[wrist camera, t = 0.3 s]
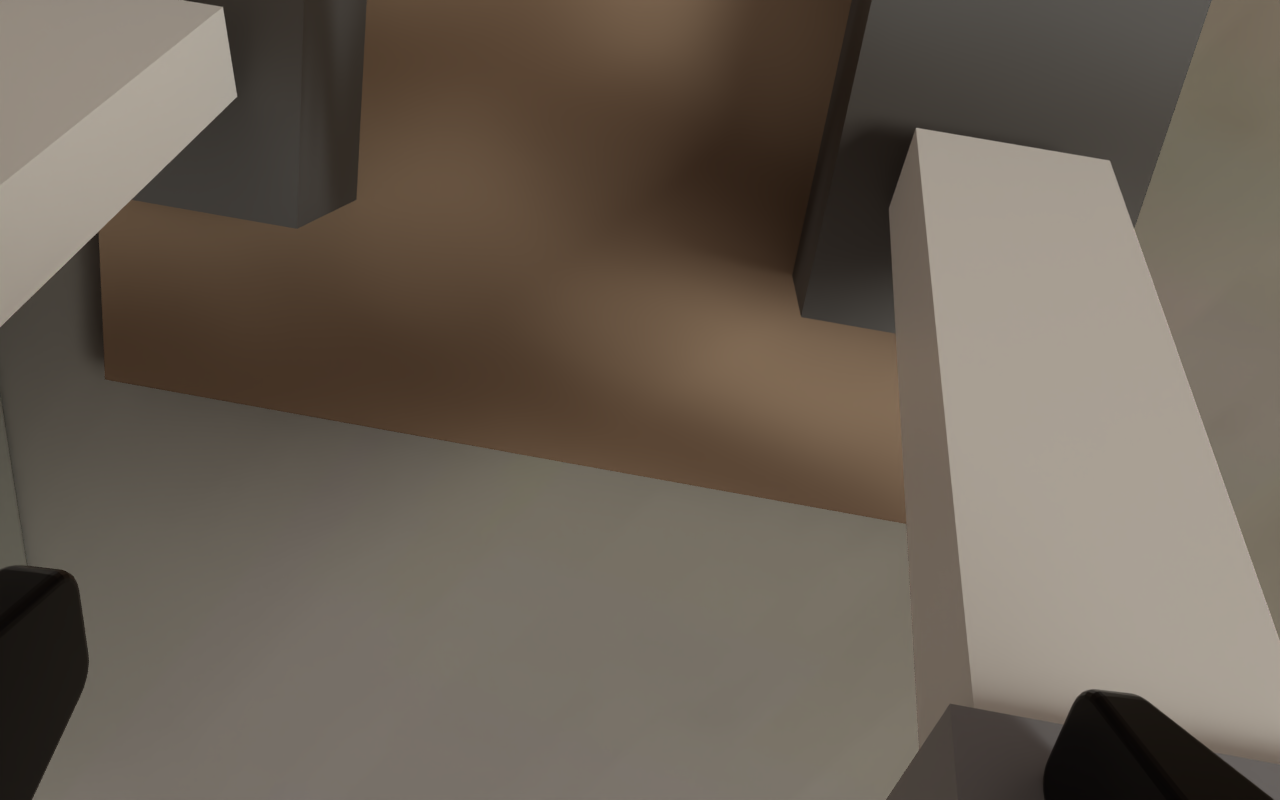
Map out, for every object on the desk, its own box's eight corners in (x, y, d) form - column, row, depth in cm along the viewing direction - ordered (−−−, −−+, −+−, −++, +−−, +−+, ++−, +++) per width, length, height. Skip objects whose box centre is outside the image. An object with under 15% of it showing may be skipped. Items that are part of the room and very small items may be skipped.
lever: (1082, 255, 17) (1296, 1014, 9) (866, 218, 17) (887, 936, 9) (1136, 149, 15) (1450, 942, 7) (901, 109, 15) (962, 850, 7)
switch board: (982, 518, 23) (1030, 615, 19) (129, 364, 24) (16, 431, 20) (1202, -175, 18) (1325, -225, 14) (105, -351, 18) (-54, -442, 15)
